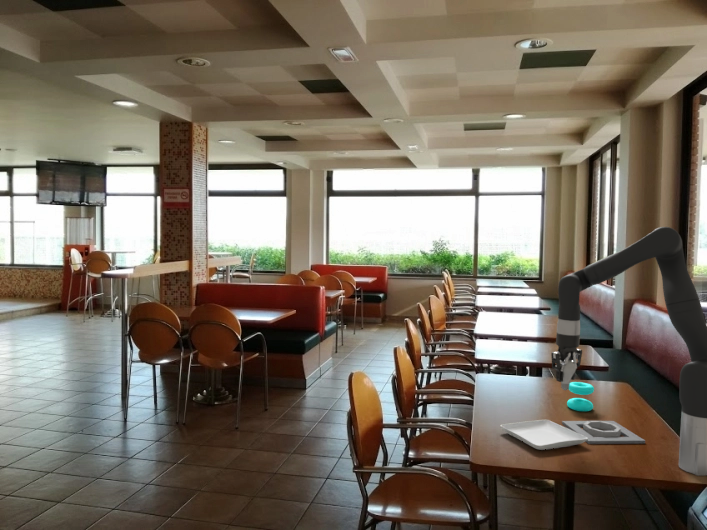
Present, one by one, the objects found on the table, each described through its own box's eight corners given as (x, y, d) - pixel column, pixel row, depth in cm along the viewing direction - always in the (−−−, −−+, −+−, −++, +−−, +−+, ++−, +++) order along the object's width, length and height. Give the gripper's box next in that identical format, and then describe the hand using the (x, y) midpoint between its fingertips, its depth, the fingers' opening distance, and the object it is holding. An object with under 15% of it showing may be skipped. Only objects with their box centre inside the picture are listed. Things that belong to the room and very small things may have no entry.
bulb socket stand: (645, 443, 190) (645, 436, 190) (588, 443, 189) (588, 436, 188) (613, 423, 210) (613, 416, 210) (561, 423, 208) (562, 417, 208)
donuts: (571, 387, 223) (564, 380, 233) (570, 411, 223) (563, 404, 233) (597, 388, 222) (589, 381, 232) (596, 413, 222) (588, 405, 232)
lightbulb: (578, 392, 192) (579, 360, 191) (563, 393, 190) (564, 361, 189) (566, 387, 198) (568, 356, 197) (551, 388, 196) (553, 357, 195)
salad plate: (497, 433, 198) (498, 423, 198) (546, 427, 205) (547, 418, 205) (537, 455, 178) (537, 445, 178) (589, 448, 186) (590, 438, 185)
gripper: (564, 335, 186) (561, 385, 187) (590, 332, 193) (587, 380, 194) (545, 332, 192) (542, 380, 193) (571, 328, 200) (569, 375, 201)
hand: (565, 380), depth 194 cm, fingers closed on lightbulb, 5 cm apart
